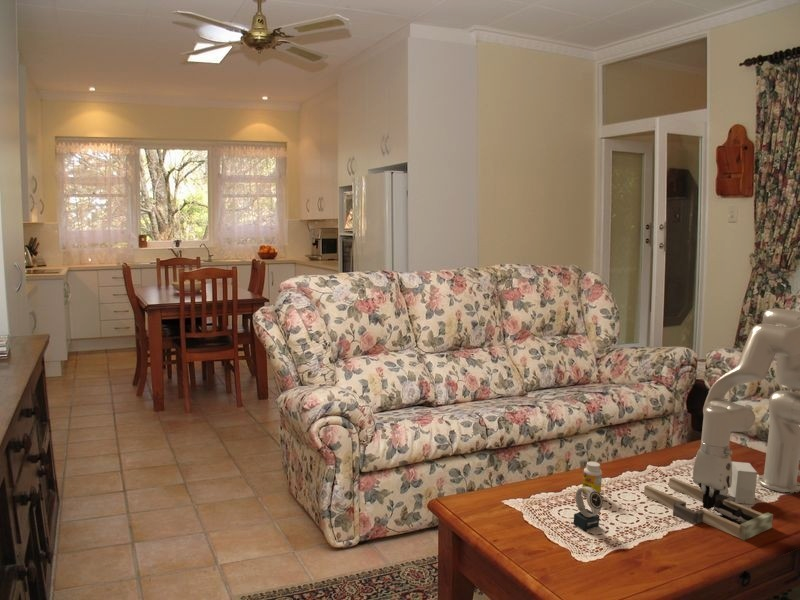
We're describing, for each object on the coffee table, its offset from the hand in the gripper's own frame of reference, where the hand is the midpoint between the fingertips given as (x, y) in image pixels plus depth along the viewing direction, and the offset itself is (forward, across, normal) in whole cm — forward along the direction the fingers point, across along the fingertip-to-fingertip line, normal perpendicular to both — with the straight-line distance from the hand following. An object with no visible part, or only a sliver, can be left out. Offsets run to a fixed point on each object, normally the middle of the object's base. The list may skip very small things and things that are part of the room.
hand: (708, 507), depth 207 cm
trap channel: (+2, +1, 0) cm, 2 cm away
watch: (+2, +13, +38) cm, 40 cm away
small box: (+2, 0, -18) cm, 18 cm away
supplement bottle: (+2, +26, +21) cm, 34 cm away
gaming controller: (+2, -6, -2) cm, 7 cm away
